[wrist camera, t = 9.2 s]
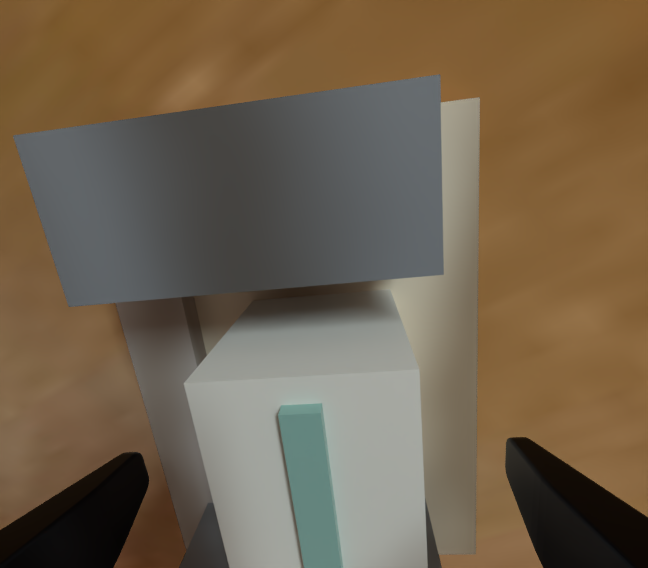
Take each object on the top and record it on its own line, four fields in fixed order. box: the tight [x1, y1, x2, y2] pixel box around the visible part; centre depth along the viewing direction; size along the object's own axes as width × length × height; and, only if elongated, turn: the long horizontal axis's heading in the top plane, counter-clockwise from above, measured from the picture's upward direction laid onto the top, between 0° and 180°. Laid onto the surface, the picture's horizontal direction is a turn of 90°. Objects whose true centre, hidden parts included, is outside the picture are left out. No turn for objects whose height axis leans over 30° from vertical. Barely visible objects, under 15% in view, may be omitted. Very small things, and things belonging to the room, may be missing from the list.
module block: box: [184, 289, 428, 568], centre depth 10 cm, size 4×6×5 cm
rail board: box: [13, 75, 480, 568], centre depth 11 cm, size 12×16×5 cm
